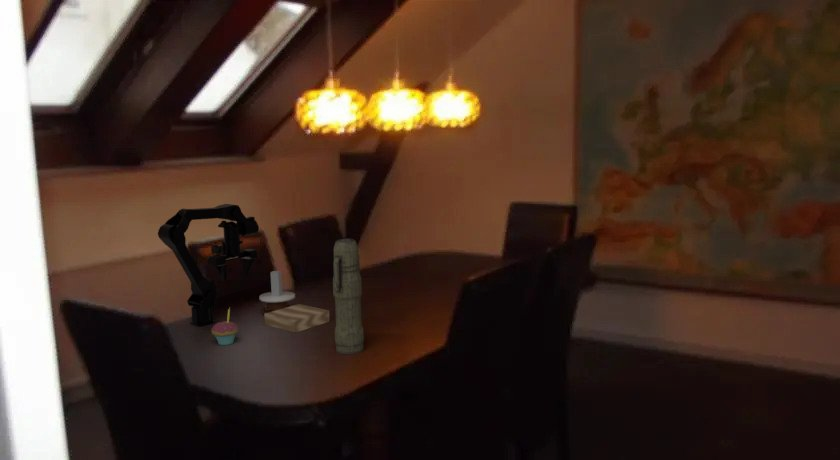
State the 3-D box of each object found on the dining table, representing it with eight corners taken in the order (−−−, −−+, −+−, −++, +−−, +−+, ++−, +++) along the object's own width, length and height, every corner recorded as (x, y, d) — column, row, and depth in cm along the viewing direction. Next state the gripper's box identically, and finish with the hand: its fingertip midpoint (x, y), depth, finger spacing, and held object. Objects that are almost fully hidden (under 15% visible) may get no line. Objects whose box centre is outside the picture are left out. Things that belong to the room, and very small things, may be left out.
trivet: (295, 332, 252) (294, 321, 251) (264, 324, 262) (264, 313, 261) (329, 321, 264) (329, 310, 263) (299, 314, 274) (298, 303, 273)
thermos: (370, 345, 236) (367, 237, 231) (353, 357, 226) (349, 243, 220) (346, 342, 240) (342, 235, 234) (328, 354, 229) (323, 242, 223)
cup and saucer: (285, 319, 269) (285, 302, 268) (256, 317, 272) (255, 301, 271) (299, 310, 281) (299, 294, 280) (271, 308, 284) (270, 293, 283)
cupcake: (241, 338, 246) (239, 303, 244) (236, 346, 238) (233, 310, 236) (215, 339, 246) (213, 304, 244) (209, 347, 238) (206, 311, 236)
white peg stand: (287, 303, 267) (285, 276, 266) (253, 302, 270) (252, 275, 269) (300, 294, 280) (298, 268, 278) (267, 293, 283) (266, 267, 281)
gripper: (239, 232, 284) (241, 272, 287) (197, 240, 270) (200, 281, 273) (257, 235, 277) (260, 276, 280) (215, 243, 263) (218, 285, 266)
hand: (234, 279), depth 275 cm, fingers open, 9 cm apart
